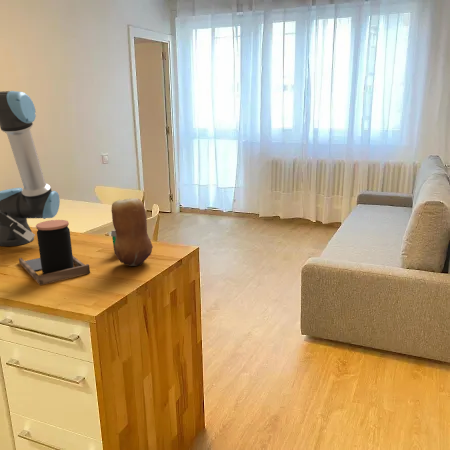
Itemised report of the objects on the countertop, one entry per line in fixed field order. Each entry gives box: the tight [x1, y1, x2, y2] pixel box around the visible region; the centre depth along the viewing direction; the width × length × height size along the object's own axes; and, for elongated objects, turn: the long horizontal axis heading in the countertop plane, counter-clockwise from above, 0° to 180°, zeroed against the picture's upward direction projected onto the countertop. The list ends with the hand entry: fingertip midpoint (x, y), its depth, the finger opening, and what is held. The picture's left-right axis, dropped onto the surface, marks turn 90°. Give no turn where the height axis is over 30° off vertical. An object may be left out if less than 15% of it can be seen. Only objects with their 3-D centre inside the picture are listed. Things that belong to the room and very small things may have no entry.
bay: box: [18, 255, 91, 286], centre depth 162 cm, size 28×17×3 cm, turn 37°
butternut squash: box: [110, 197, 154, 267], centre depth 160 cm, size 14×13×25 cm
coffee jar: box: [35, 219, 75, 275], centre depth 156 cm, size 11×11×18 cm
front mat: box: [24, 257, 42, 272], centre depth 168 cm, size 13×15×1 cm
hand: (26, 233), depth 148 cm, fingers open, 13 cm apart
